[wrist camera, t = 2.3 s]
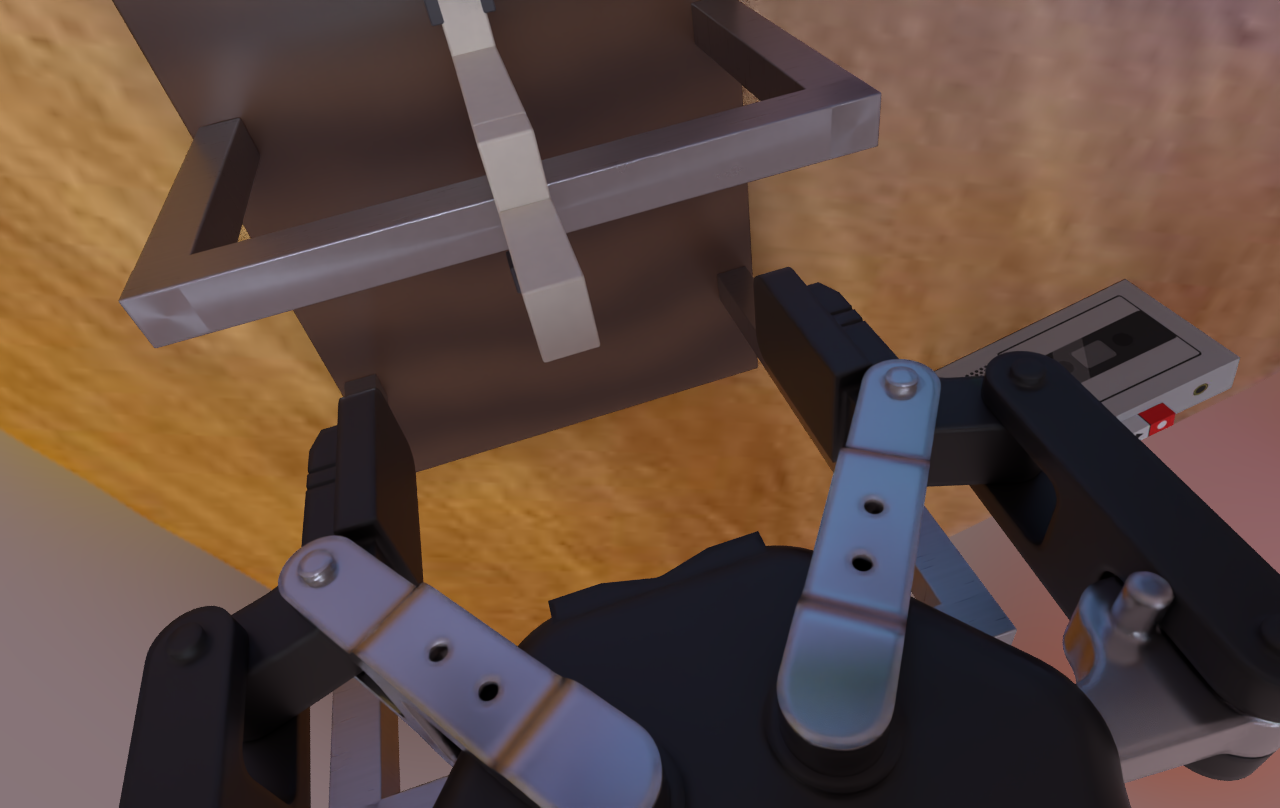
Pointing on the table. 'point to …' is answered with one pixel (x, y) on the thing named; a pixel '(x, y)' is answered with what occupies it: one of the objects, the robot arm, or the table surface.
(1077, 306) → the cassette player
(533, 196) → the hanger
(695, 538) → the table surface
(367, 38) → the rack
